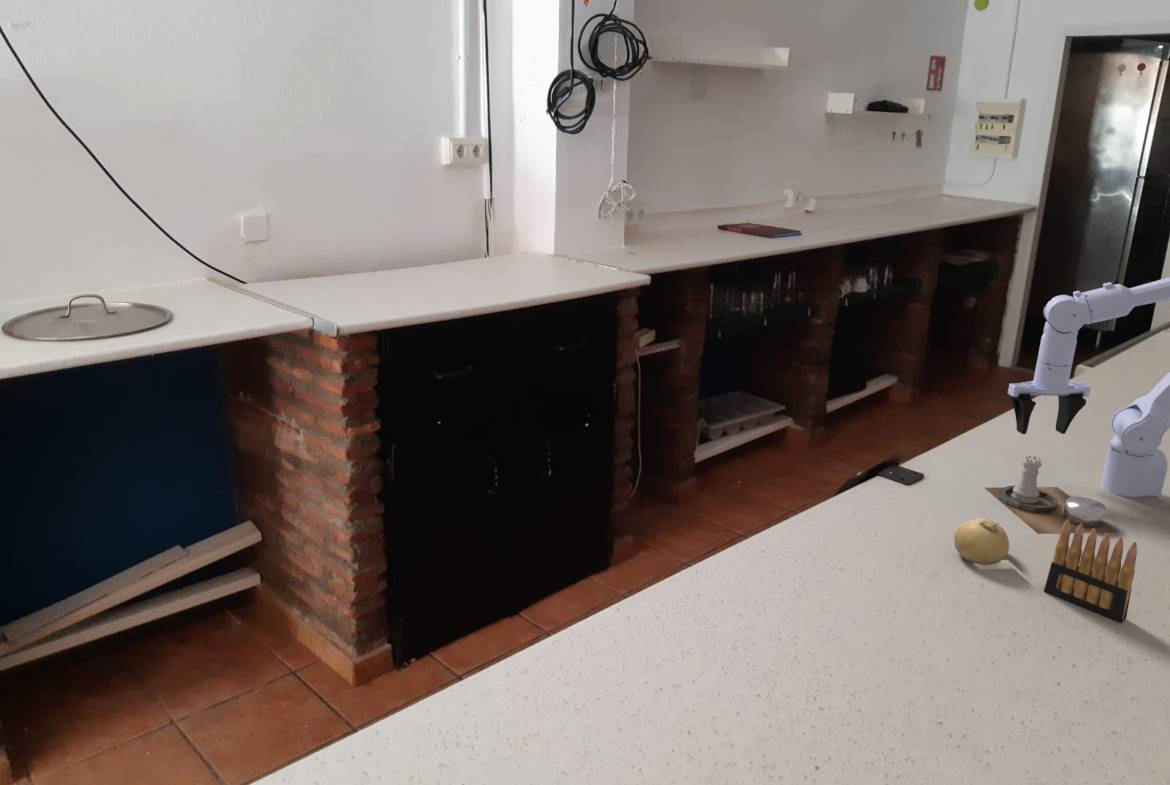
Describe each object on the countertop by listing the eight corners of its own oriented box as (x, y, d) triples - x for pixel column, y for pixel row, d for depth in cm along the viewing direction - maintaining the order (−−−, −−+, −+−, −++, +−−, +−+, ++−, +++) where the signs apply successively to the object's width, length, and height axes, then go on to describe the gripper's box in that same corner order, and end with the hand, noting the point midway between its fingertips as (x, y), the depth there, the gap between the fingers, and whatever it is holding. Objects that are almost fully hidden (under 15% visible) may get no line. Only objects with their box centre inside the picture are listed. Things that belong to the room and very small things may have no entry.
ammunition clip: (1126, 619, 128) (1145, 542, 125) (1121, 623, 127) (1139, 546, 123) (1048, 588, 136) (1064, 514, 132) (1043, 592, 135) (1058, 518, 131)
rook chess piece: (1033, 495, 165) (1041, 454, 162) (1042, 506, 161) (1050, 463, 158) (1007, 493, 165) (1015, 452, 163) (1015, 504, 161) (1023, 462, 159)
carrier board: (1056, 491, 169) (1057, 486, 169) (1117, 537, 152) (1118, 532, 152) (983, 492, 168) (984, 487, 168) (1036, 538, 151) (1037, 533, 151)
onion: (943, 558, 144) (950, 517, 142) (963, 541, 150) (970, 501, 147) (995, 576, 139) (1003, 534, 137) (1013, 558, 144) (1021, 518, 142)
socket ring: (1038, 490, 167) (1039, 485, 167) (1067, 512, 158) (1068, 507, 158) (990, 490, 166) (991, 485, 166) (1016, 513, 158) (1017, 507, 157)
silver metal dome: (1088, 512, 159) (1092, 496, 158) (1110, 528, 153) (1113, 511, 152) (1055, 512, 158) (1058, 496, 157) (1075, 528, 153) (1079, 512, 152)
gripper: (1079, 356, 171) (1065, 424, 175) (1005, 355, 169) (992, 424, 174) (1102, 367, 164) (1087, 437, 168) (1025, 367, 163) (1012, 438, 167)
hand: (1040, 432), depth 171 cm, fingers open, 7 cm apart
